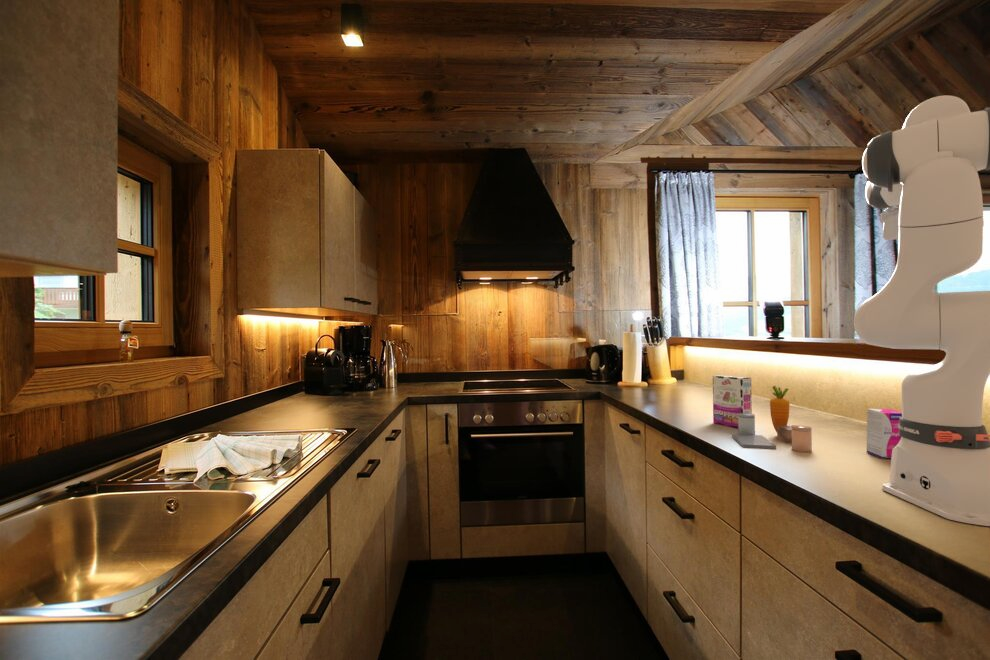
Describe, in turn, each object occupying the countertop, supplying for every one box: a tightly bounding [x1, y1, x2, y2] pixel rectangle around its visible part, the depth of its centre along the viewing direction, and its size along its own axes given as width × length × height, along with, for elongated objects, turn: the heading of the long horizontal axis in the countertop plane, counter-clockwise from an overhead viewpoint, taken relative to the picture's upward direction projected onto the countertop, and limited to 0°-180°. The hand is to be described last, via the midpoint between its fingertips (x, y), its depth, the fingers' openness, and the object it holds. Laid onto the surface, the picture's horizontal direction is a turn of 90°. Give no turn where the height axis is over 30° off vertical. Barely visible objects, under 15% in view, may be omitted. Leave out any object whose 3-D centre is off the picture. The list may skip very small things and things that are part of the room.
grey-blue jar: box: [737, 413, 756, 435], centre depth 137 cm, size 4×4×6 cm
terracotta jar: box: [791, 424, 813, 453], centre depth 120 cm, size 4×4×6 cm
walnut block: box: [776, 425, 792, 445], centre depth 129 cm, size 5×5×4 cm
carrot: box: [769, 385, 790, 433], centre depth 135 cm, size 5×5×15 cm
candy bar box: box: [712, 374, 753, 429], centre depth 150 cm, size 11×5×16 cm, turn 25°
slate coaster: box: [731, 433, 777, 450], centre depth 128 cm, size 12×8×1 cm, turn 165°
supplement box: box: [866, 408, 902, 459], centre depth 113 cm, size 6×6×12 cm
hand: (930, 249), depth 128 cm, fingers open, 8 cm apart
